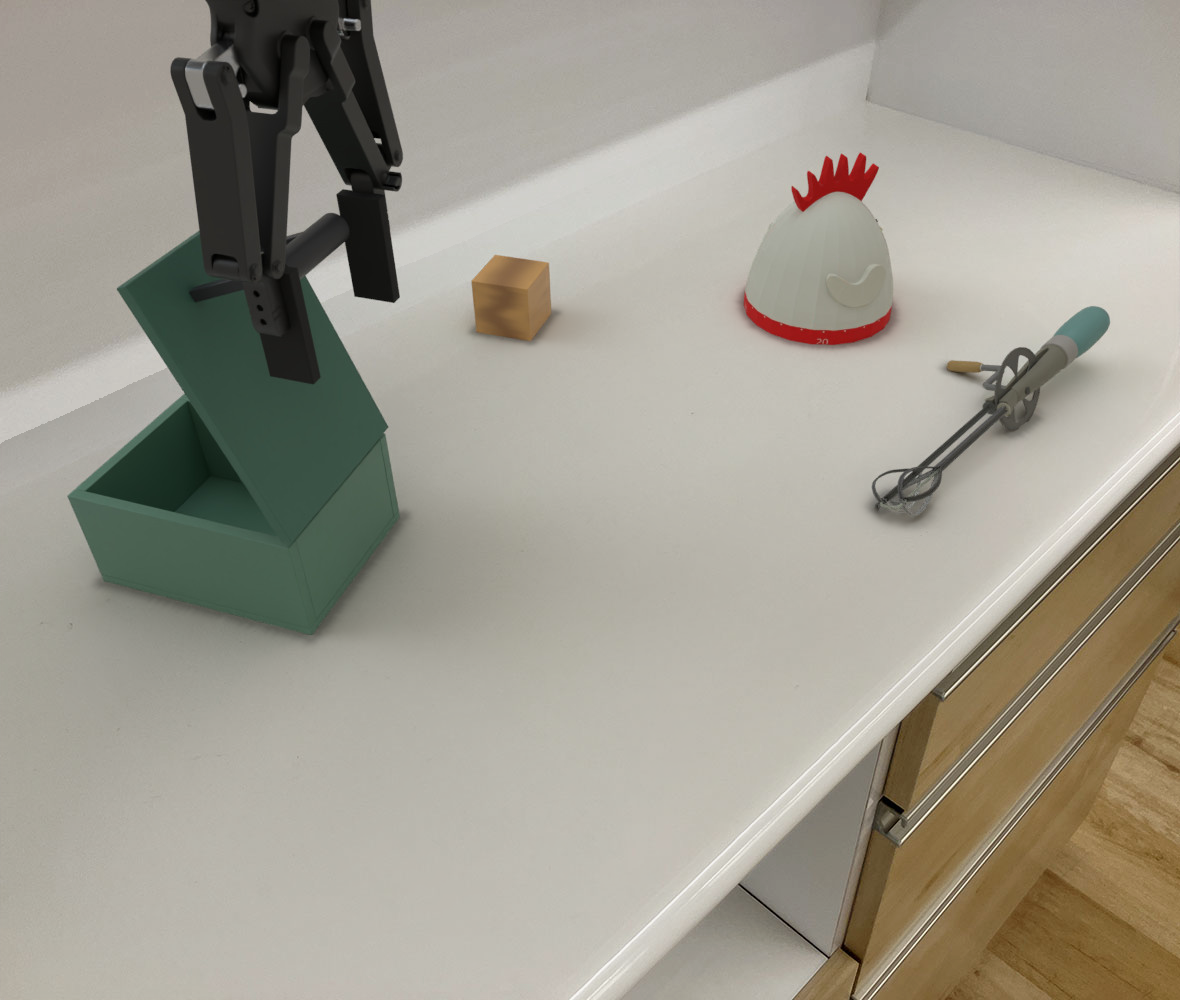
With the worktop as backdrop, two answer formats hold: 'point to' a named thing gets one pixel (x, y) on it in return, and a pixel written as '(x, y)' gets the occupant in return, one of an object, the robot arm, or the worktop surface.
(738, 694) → the worktop surface
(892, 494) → the whisk
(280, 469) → the lunchbox lid
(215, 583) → the lunchbox
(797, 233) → the kitchen timer
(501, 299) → the block
